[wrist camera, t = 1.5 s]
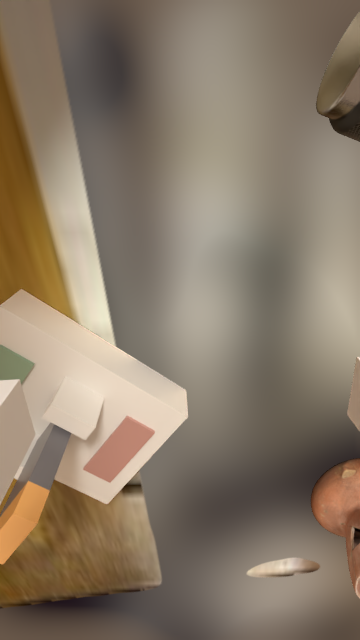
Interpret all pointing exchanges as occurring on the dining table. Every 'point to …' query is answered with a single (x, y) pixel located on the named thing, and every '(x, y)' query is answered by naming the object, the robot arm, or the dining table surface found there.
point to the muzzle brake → (343, 85)
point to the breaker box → (86, 396)
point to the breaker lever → (31, 489)
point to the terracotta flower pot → (341, 509)
